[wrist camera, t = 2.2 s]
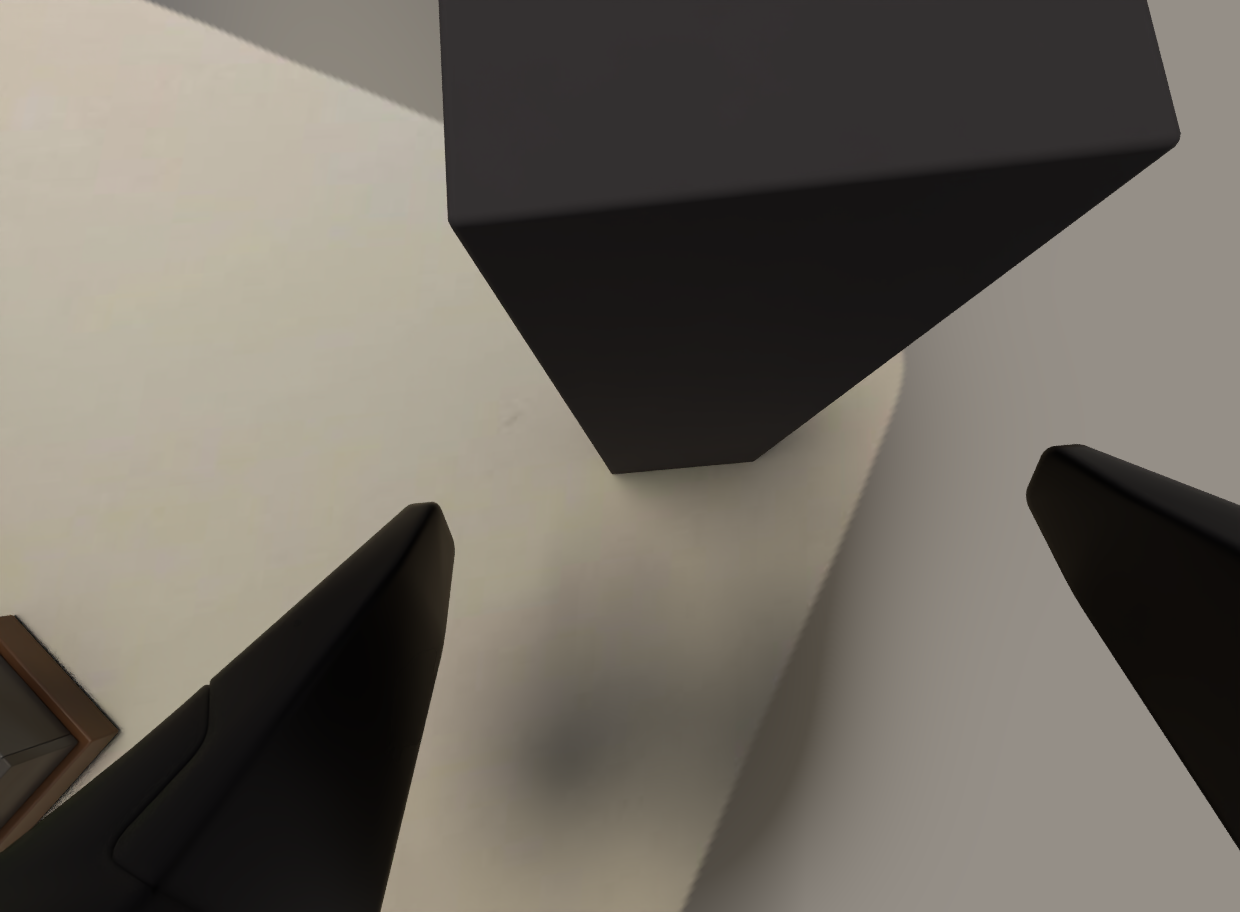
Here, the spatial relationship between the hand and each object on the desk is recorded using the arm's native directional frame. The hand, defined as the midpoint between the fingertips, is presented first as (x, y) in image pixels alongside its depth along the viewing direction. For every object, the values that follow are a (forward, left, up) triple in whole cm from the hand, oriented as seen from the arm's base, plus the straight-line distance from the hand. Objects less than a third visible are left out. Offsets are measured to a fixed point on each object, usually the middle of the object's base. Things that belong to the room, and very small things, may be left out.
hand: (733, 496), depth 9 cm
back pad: (+2, -2, -11) cm, 12 cm away
